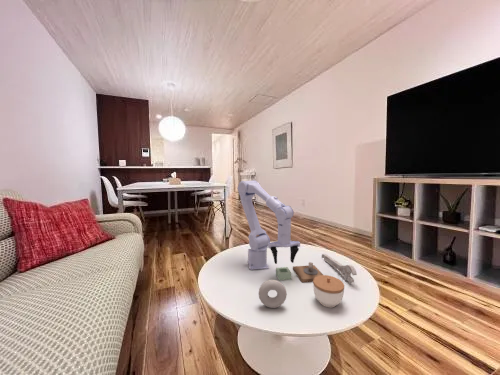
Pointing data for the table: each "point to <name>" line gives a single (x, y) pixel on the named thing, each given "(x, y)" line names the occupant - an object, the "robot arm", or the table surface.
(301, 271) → the peg base
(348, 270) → the wrench
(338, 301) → the lidded jar
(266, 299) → the donut
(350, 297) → the table surface
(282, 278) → the collar
